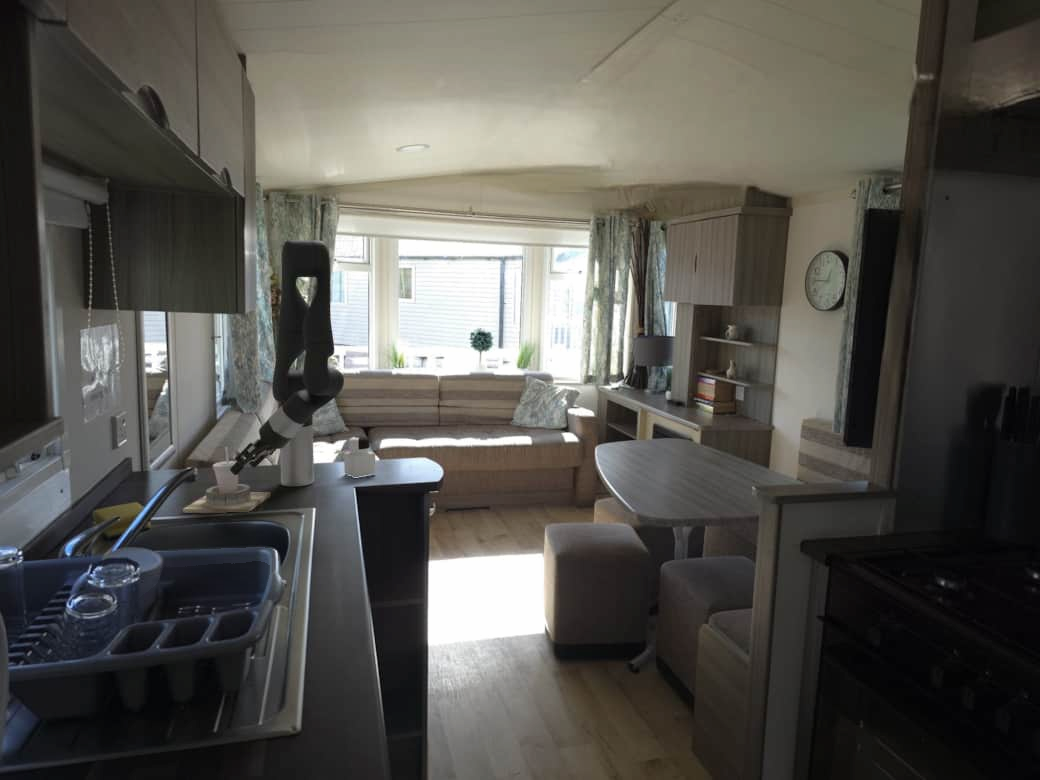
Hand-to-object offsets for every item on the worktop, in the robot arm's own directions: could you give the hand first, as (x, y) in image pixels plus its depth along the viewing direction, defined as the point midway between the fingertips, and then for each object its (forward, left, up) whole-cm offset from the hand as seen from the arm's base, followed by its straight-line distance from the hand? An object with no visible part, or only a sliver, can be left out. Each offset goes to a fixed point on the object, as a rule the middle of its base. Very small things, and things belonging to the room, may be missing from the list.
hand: (242, 468), depth 173 cm
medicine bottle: (-33, +23, -10) cm, 41 cm away
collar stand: (-1, -4, -10) cm, 11 cm away
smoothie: (-1, -4, -9) cm, 10 cm away
